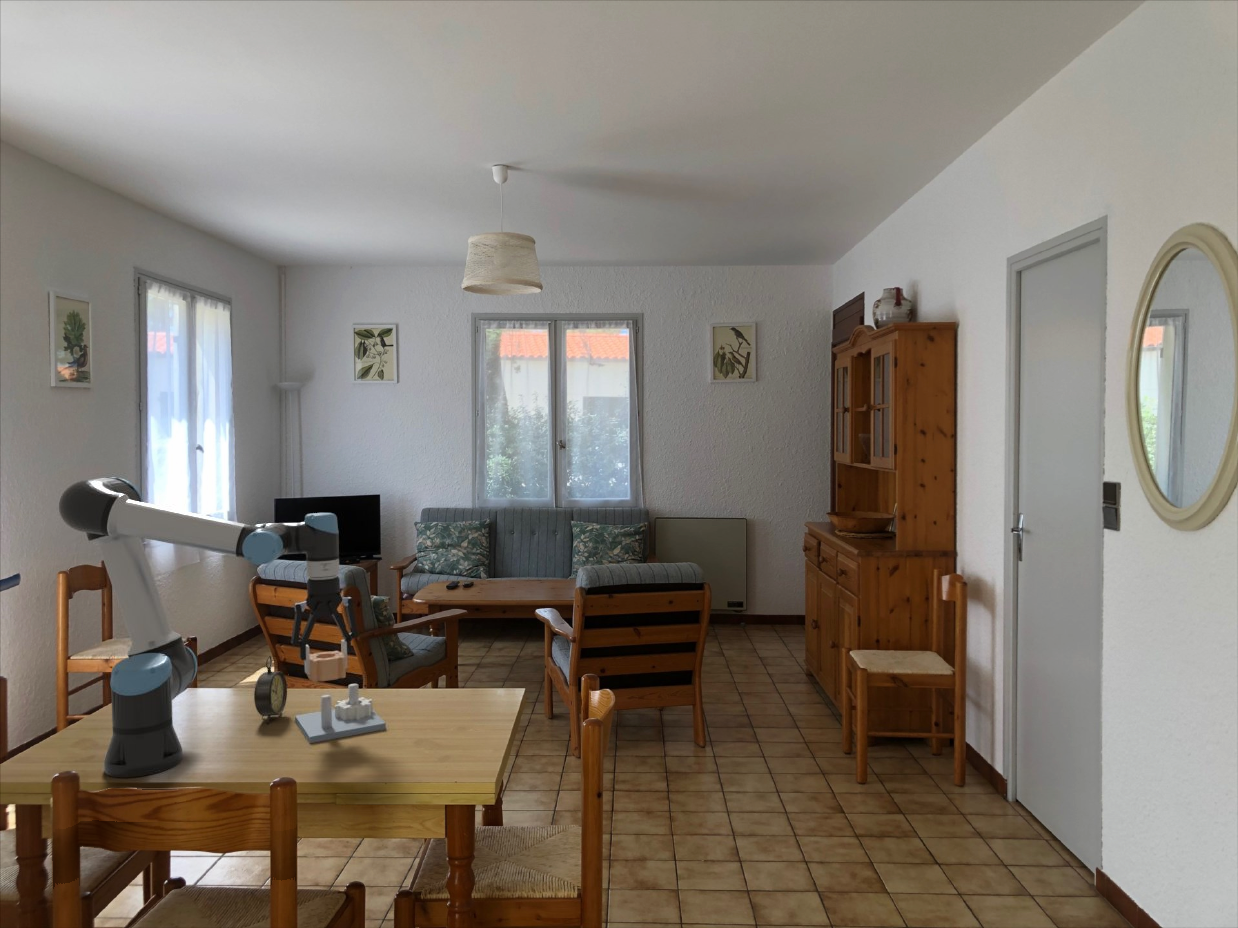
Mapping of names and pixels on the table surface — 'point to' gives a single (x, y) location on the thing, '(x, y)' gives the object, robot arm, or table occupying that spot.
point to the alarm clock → (270, 693)
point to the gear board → (340, 718)
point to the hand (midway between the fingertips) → (326, 669)
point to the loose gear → (327, 666)
